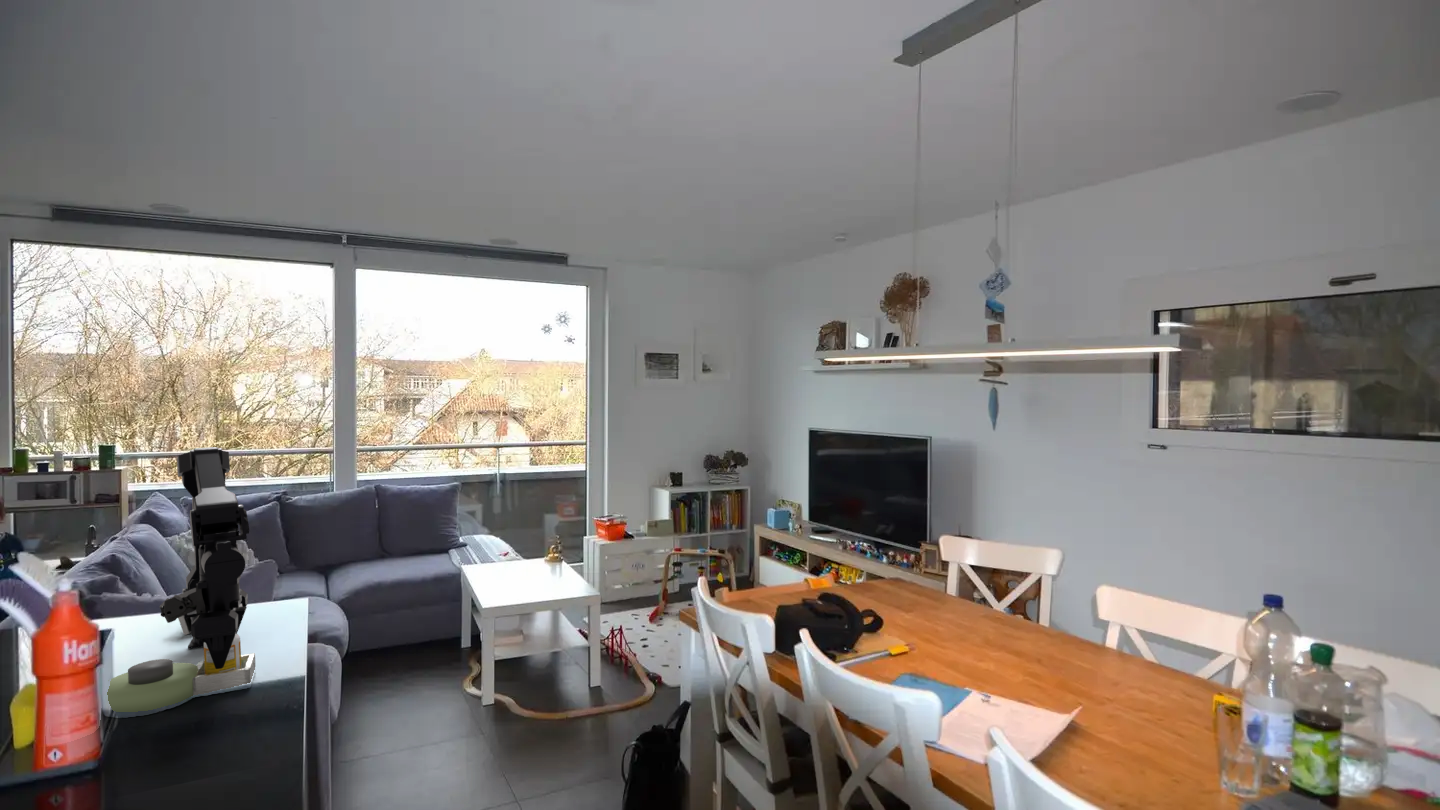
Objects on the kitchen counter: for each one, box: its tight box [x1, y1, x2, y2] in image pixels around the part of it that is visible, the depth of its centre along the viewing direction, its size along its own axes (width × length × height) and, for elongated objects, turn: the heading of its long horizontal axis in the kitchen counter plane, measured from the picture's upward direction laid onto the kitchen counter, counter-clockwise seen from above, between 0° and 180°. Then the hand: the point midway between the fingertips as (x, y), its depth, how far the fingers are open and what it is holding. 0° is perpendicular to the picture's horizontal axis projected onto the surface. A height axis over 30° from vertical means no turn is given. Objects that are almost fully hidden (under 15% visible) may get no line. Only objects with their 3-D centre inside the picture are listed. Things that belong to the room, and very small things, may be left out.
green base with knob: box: [107, 658, 198, 712], centre depth 126 cm, size 13×13×6 cm
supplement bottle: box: [203, 633, 242, 674], centre depth 132 cm, size 5×5×10 cm
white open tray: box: [192, 652, 256, 695], centre depth 132 cm, size 9×9×4 cm
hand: (223, 659), depth 132 cm, fingers open, 9 cm apart
